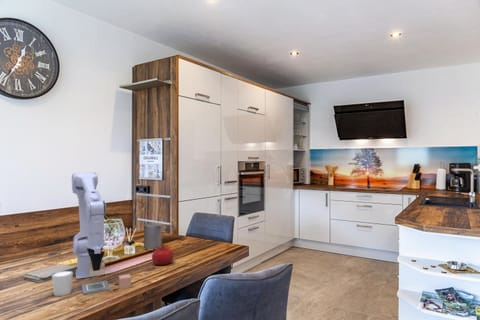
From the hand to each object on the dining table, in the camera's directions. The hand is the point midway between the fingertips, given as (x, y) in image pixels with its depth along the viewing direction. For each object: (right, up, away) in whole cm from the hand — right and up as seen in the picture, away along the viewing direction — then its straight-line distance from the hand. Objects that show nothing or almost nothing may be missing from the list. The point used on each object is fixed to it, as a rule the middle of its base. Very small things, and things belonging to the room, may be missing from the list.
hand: (95, 268), depth 123 cm
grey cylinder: (-10, -8, -5) cm, 14 cm away
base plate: (0, -8, 0) cm, 8 cm away
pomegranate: (+18, -8, +31) cm, 37 cm away
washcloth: (-26, -9, +15) cm, 31 cm away
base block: (0, -2, 0) cm, 2 cm away
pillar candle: (+6, -9, +59) cm, 60 cm away
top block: (+11, -8, +1) cm, 13 cm away
